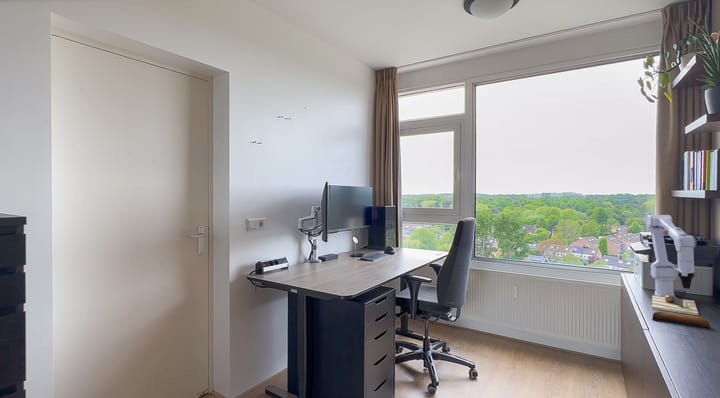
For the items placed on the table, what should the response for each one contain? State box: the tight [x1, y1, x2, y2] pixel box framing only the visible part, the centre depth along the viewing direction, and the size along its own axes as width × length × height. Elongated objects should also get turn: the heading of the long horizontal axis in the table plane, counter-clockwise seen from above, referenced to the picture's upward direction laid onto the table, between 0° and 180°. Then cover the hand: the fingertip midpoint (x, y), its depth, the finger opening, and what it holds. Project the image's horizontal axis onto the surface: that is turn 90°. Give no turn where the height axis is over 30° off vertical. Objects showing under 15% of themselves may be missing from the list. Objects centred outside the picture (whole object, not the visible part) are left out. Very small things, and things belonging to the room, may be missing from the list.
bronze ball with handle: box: [665, 295, 688, 307], centre depth 166 cm, size 11×4×3 cm, turn 176°
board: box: [651, 295, 699, 316], centre depth 167 cm, size 22×16×1 cm
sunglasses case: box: [652, 311, 711, 330], centre depth 147 cm, size 18×7×7 cm
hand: (686, 288), depth 165 cm, fingers closed
